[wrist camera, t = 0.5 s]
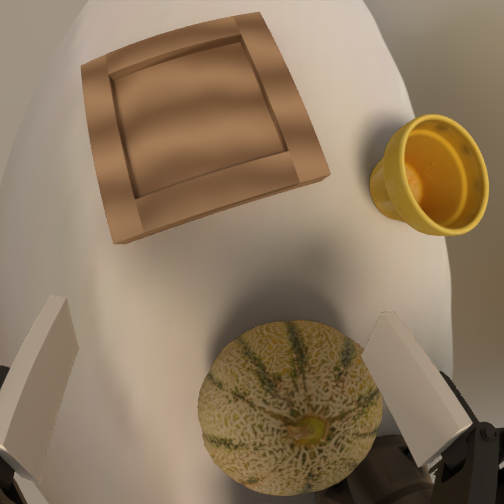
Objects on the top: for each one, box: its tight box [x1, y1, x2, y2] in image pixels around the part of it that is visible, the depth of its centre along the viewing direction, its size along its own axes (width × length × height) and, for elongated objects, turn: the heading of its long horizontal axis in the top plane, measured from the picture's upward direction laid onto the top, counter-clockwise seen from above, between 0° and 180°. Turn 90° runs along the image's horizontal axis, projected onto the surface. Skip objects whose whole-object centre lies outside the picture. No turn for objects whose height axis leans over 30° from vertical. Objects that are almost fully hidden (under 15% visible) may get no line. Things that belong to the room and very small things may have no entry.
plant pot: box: [370, 114, 489, 236], centre depth 25 cm, size 10×10×10 cm
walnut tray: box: [81, 12, 331, 244], centre depth 27 cm, size 20×20×3 cm
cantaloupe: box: [197, 320, 383, 496], centre depth 22 cm, size 15×15×15 cm
